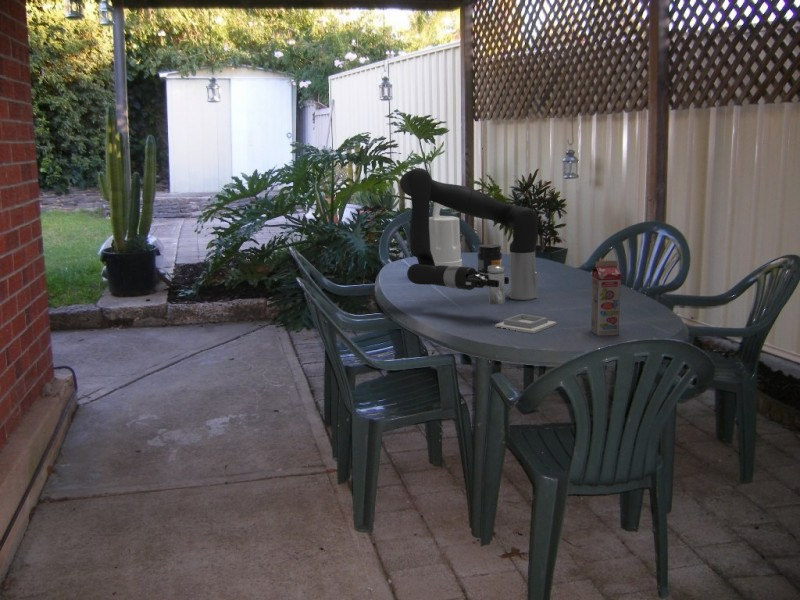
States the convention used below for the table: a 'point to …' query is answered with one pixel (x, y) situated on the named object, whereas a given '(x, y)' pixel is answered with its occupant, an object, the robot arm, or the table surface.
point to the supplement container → (488, 257)
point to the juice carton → (605, 298)
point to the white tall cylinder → (444, 238)
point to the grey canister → (499, 292)
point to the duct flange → (526, 323)
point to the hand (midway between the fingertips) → (503, 282)
